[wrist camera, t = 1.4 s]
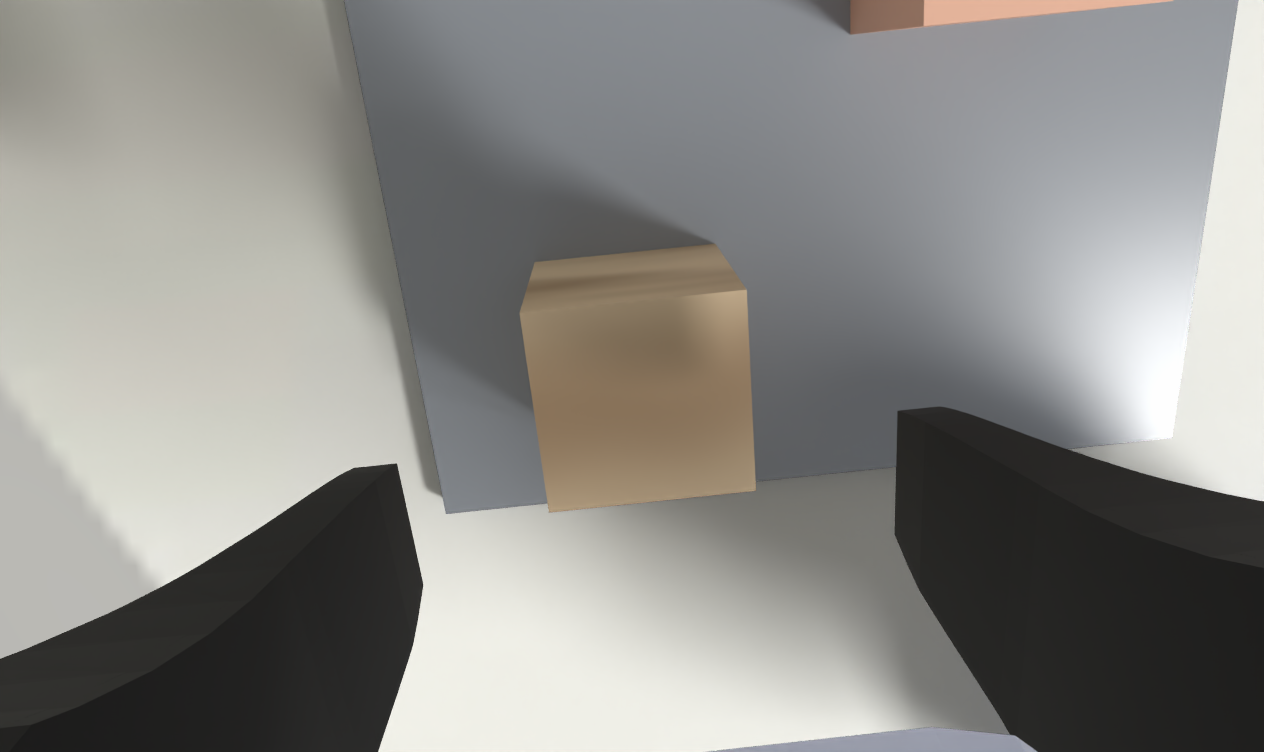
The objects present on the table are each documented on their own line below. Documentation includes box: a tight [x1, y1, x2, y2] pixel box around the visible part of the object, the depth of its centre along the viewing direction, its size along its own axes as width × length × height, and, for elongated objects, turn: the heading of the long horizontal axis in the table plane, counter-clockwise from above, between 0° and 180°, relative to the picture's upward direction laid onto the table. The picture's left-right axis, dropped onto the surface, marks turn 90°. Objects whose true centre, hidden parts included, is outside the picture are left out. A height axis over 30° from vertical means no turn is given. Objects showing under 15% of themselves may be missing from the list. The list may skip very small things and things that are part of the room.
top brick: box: [520, 244, 756, 513], centre depth 17 cm, size 4×4×4 cm
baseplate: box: [344, 0, 1238, 514], centre depth 18 cm, size 16×18×1 cm
